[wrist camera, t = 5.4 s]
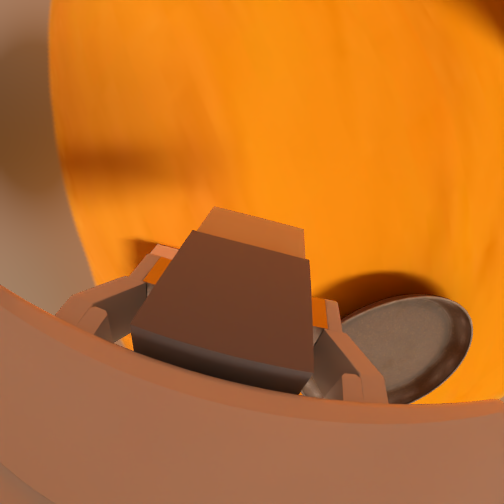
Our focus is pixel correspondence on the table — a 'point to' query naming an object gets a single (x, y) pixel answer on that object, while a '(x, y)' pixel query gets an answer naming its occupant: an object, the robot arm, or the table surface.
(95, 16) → the table surface
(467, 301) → the table surface
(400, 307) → the plant saucer
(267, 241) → the plug
